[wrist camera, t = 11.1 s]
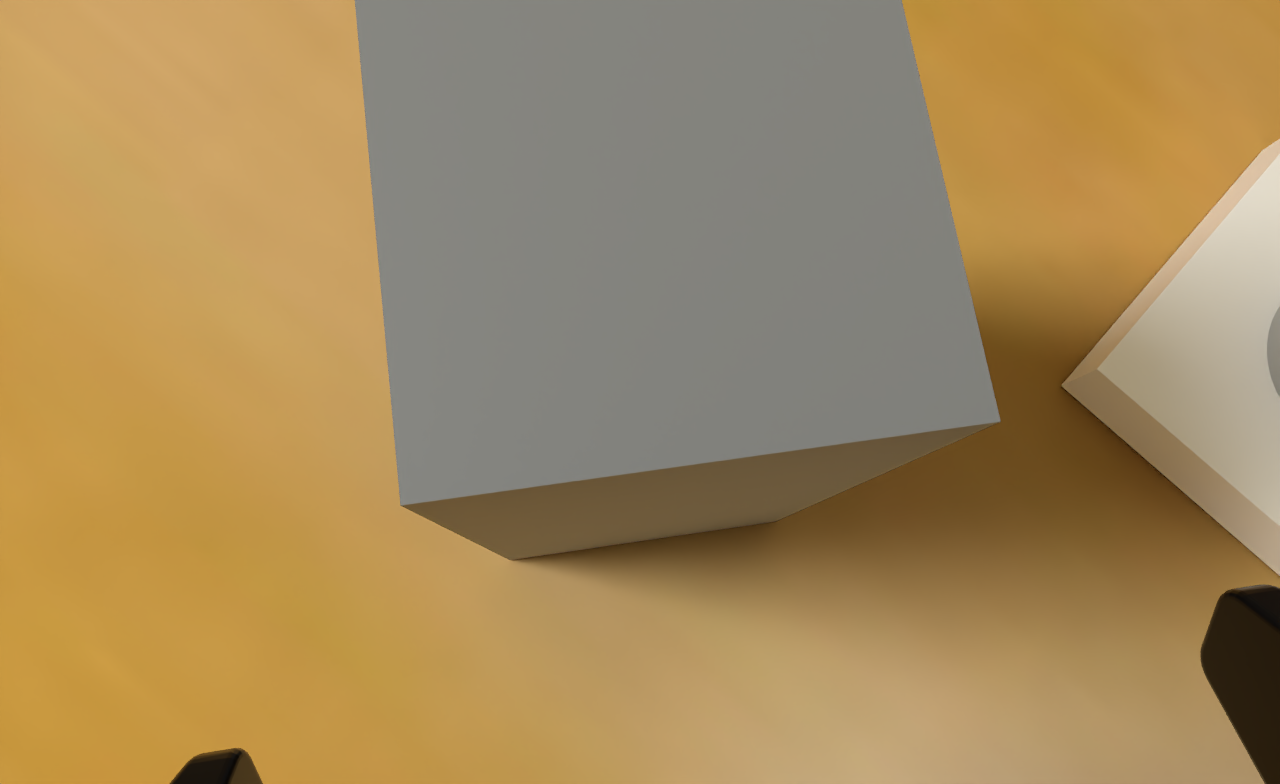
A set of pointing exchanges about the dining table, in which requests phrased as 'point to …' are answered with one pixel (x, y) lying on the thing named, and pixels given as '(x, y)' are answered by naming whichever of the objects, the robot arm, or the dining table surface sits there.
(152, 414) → the dining table surface
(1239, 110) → the dining table surface
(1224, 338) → the base
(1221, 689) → the robot arm
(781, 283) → the tall grey box
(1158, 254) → the dining table surface
